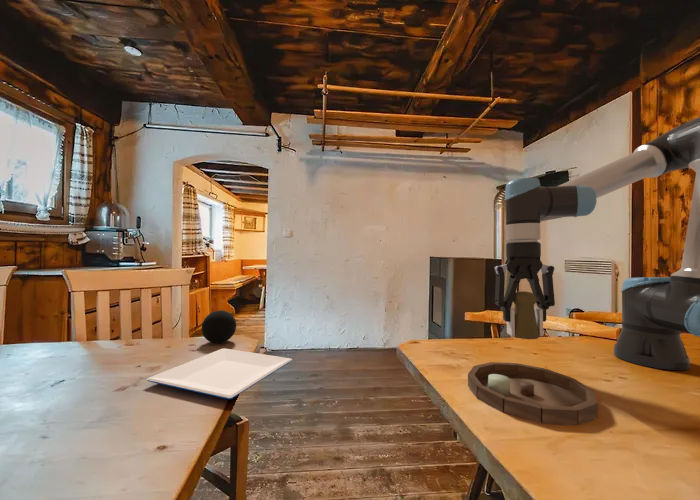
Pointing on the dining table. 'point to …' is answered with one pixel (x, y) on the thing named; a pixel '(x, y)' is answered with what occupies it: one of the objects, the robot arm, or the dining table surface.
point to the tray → (535, 394)
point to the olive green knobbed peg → (525, 315)
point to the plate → (221, 372)
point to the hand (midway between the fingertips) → (524, 334)
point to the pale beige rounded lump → (499, 384)
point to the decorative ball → (218, 326)
